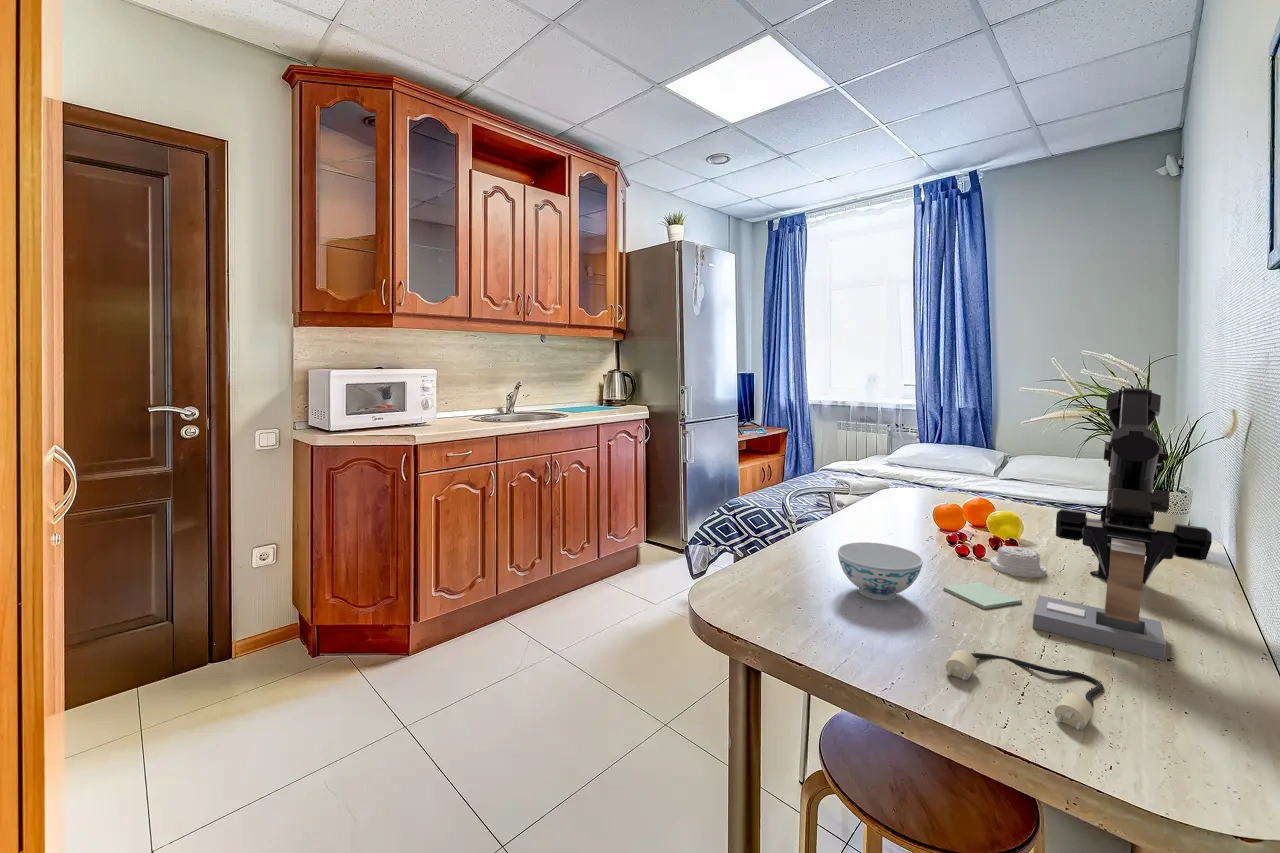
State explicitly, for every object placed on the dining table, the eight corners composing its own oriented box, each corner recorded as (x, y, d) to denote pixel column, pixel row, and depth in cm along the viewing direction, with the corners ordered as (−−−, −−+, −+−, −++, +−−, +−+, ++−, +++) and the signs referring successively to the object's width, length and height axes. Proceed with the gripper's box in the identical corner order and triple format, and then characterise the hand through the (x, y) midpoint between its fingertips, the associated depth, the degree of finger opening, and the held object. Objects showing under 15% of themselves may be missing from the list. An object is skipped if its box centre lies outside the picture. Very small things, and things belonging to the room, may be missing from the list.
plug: (1104, 608, 91) (1111, 537, 89) (1137, 615, 88) (1144, 542, 87) (1104, 616, 88) (1111, 543, 86) (1138, 623, 85) (1146, 548, 84)
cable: (983, 644, 87) (985, 623, 87) (1116, 692, 74) (1118, 668, 74) (938, 677, 78) (940, 654, 77) (1081, 739, 65) (1084, 712, 64)
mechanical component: (1002, 577, 115) (1055, 580, 113) (1003, 556, 114) (1057, 560, 112) (982, 560, 125) (1031, 564, 123) (983, 542, 124) (1032, 545, 122)
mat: (979, 584, 110) (979, 581, 110) (1021, 603, 101) (1021, 599, 101) (943, 589, 107) (943, 587, 107) (984, 609, 99) (984, 605, 99)
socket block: (1038, 608, 99) (1039, 593, 99) (1159, 636, 89) (1160, 619, 89) (1032, 628, 92) (1033, 611, 91) (1164, 660, 81) (1166, 642, 81)
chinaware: (931, 592, 106) (933, 553, 105) (905, 617, 95) (907, 575, 95) (854, 572, 116) (855, 537, 116) (823, 593, 106) (824, 555, 105)
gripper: (1061, 462, 94) (1051, 540, 87) (1217, 476, 82) (1220, 567, 75) (1060, 499, 101) (1051, 573, 94) (1204, 516, 89) (1206, 603, 82)
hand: (1125, 578), depth 86 cm, fingers closed on plug, 4 cm apart
